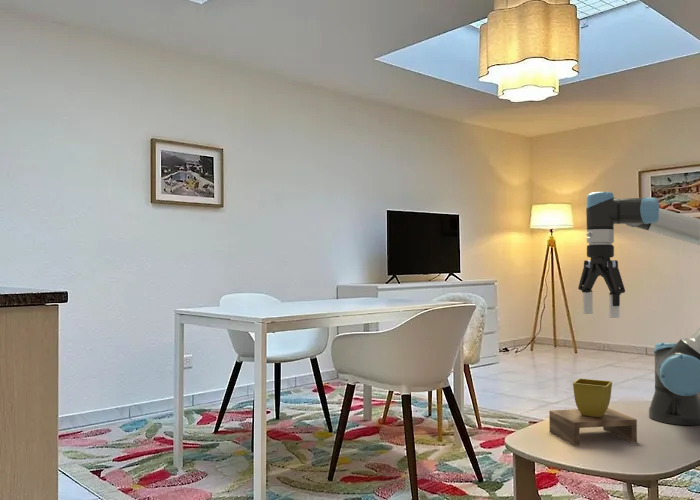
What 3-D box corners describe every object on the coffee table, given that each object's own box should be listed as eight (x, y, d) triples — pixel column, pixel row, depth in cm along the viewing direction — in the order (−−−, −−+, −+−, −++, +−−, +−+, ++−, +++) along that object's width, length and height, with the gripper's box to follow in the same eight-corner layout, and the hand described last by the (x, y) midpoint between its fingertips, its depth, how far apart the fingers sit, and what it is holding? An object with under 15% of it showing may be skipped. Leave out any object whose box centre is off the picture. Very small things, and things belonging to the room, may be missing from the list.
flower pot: (579, 409, 174) (579, 377, 174) (612, 413, 169) (612, 380, 169) (572, 416, 166) (572, 382, 166) (607, 420, 162) (607, 386, 162)
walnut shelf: (608, 429, 176) (607, 408, 176) (636, 442, 163) (636, 419, 163) (549, 432, 173) (549, 410, 173) (574, 445, 160) (574, 422, 160)
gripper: (566, 245, 195) (567, 312, 195) (613, 242, 171) (614, 319, 170) (588, 245, 197) (588, 312, 196) (638, 243, 172) (638, 319, 172)
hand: (600, 315), depth 183 cm, fingers open, 13 cm apart
